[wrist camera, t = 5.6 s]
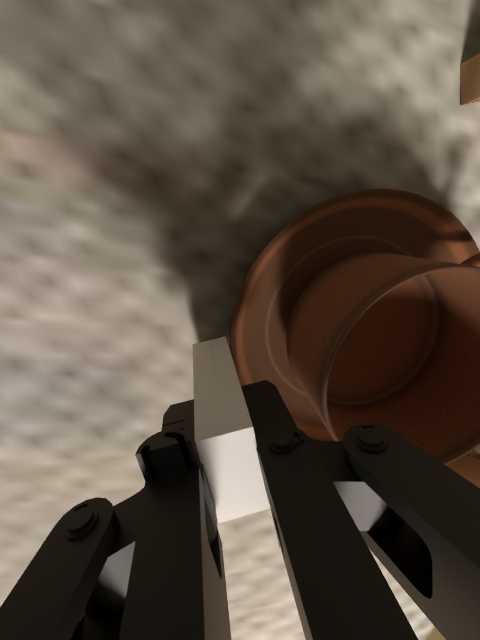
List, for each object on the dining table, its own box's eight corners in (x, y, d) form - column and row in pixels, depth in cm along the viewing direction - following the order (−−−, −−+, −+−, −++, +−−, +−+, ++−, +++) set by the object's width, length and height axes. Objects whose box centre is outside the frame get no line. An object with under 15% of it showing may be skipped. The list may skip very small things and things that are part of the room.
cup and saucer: (319, 133, 13) (421, 67, 7) (499, 277, 17) (668, 310, 11) (179, 368, 15) (172, 459, 10) (363, 453, 19) (440, 559, 13)
